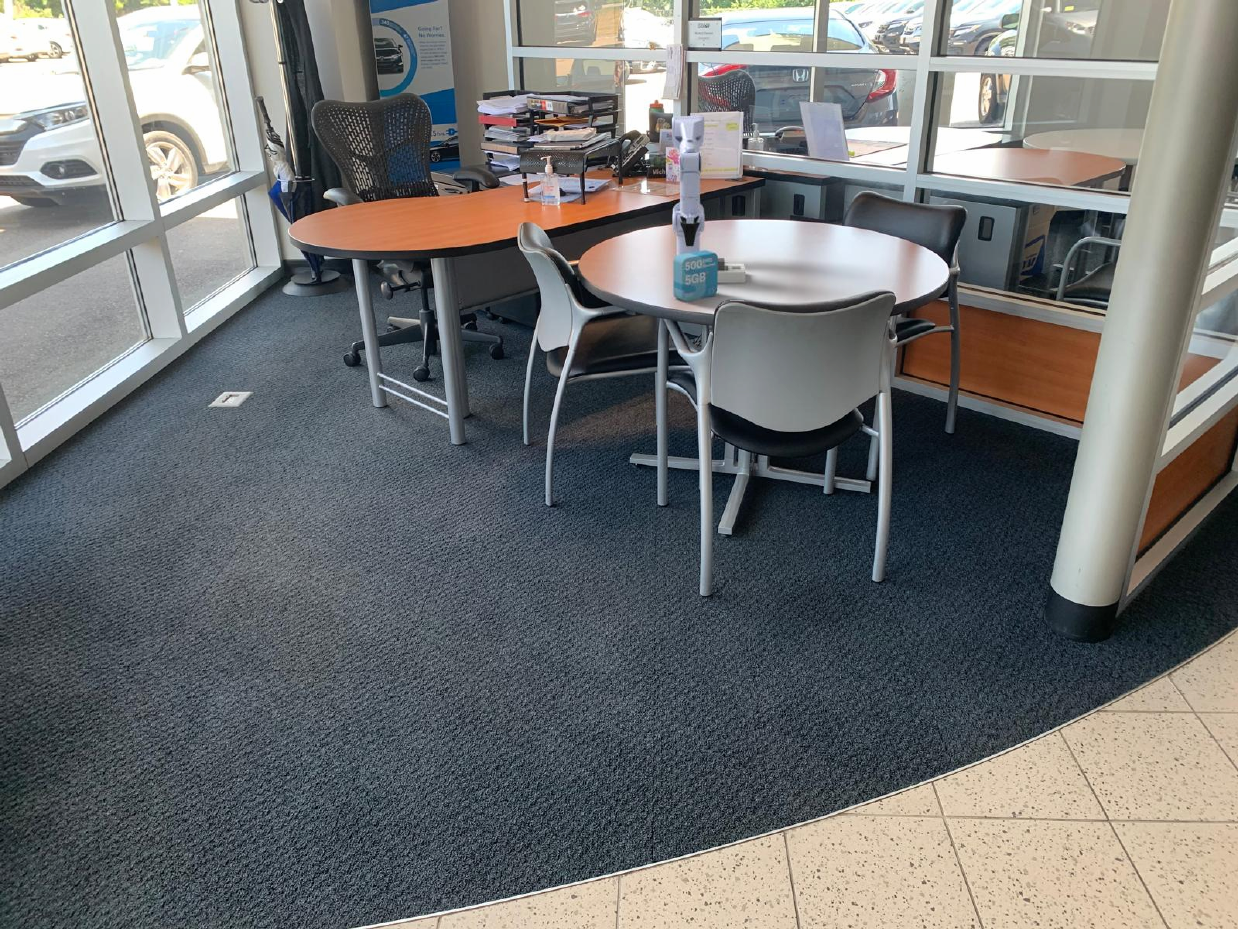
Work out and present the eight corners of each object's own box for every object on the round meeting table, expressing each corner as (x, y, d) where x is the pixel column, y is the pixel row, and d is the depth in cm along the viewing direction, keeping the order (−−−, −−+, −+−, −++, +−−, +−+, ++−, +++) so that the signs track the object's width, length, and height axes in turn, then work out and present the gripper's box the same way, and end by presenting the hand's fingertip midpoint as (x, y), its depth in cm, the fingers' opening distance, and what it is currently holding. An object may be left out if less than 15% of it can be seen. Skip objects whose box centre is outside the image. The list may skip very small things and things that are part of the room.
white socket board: (683, 273, 274) (683, 263, 272) (743, 273, 272) (743, 262, 271) (683, 283, 265) (683, 272, 263) (745, 282, 263) (745, 271, 262)
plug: (710, 276, 270) (710, 258, 268) (723, 276, 270) (724, 258, 268) (710, 280, 267) (710, 261, 264) (724, 280, 267) (724, 261, 264)
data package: (682, 302, 248) (682, 258, 242) (672, 298, 251) (672, 255, 246) (717, 295, 253) (718, 252, 248) (707, 291, 256) (708, 249, 251)
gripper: (676, 191, 270) (676, 237, 276) (676, 201, 257) (676, 249, 263) (699, 191, 269) (699, 237, 275) (701, 200, 256) (700, 248, 263)
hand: (689, 242), depth 269 cm, fingers open, 7 cm apart
